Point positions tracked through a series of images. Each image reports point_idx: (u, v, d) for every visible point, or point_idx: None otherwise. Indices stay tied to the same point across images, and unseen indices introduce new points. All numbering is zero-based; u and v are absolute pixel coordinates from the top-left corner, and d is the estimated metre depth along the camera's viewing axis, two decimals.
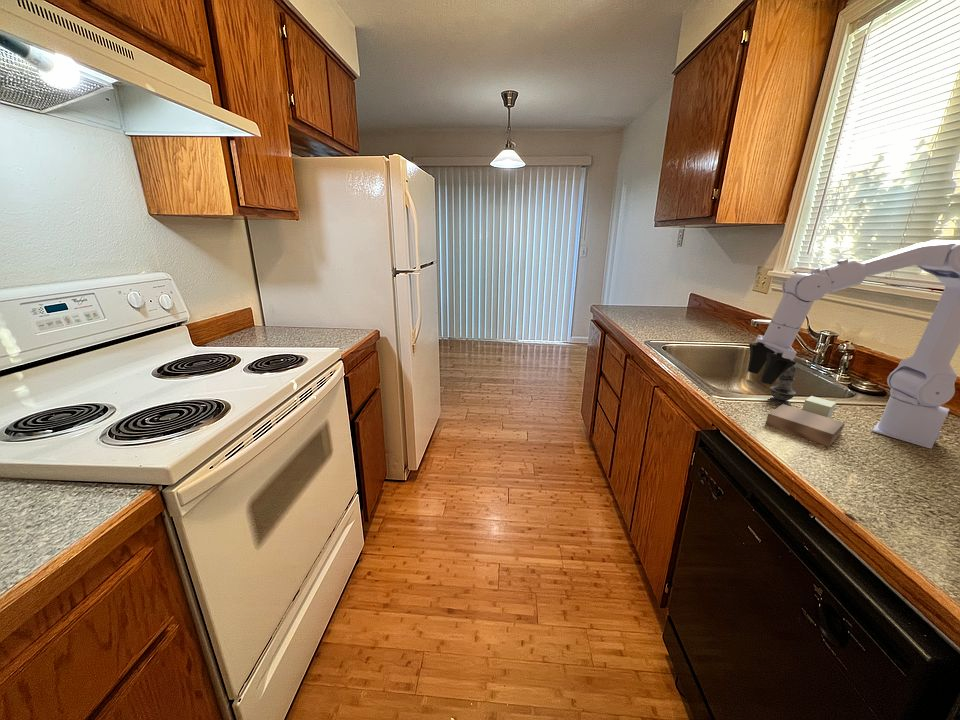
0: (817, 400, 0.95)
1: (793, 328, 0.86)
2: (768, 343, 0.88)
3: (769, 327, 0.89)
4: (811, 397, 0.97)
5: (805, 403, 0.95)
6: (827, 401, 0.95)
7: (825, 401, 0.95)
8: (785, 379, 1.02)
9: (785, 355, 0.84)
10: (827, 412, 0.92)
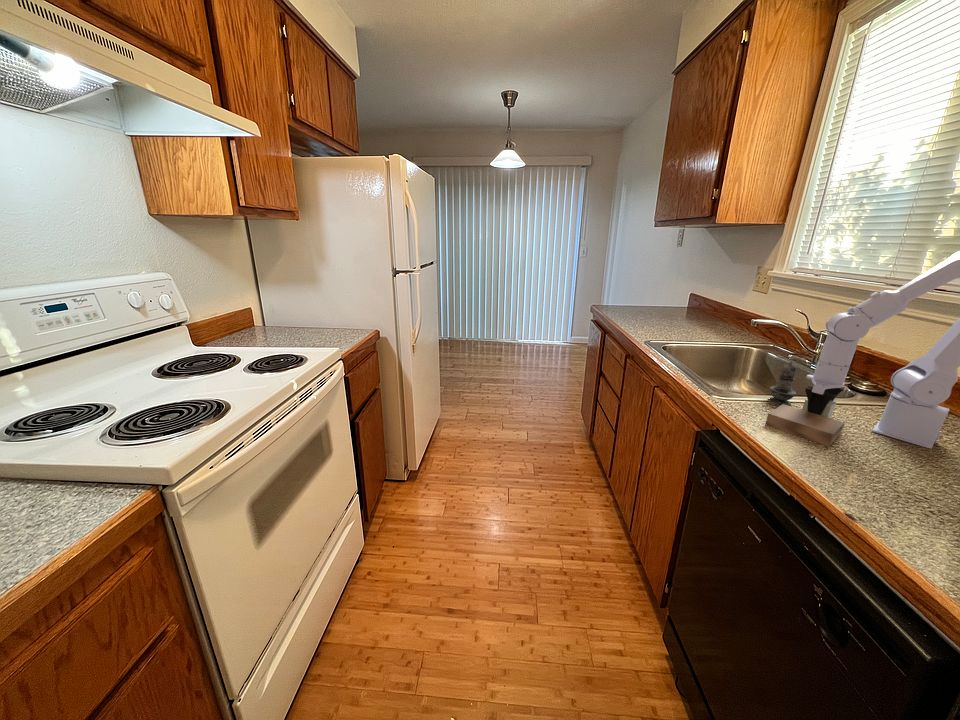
0: None
1: (833, 365, 0.90)
2: (812, 379, 0.94)
3: None
4: None
5: (805, 403, 0.95)
6: None
7: None
8: (785, 379, 1.02)
9: (813, 389, 0.90)
10: (827, 412, 0.92)
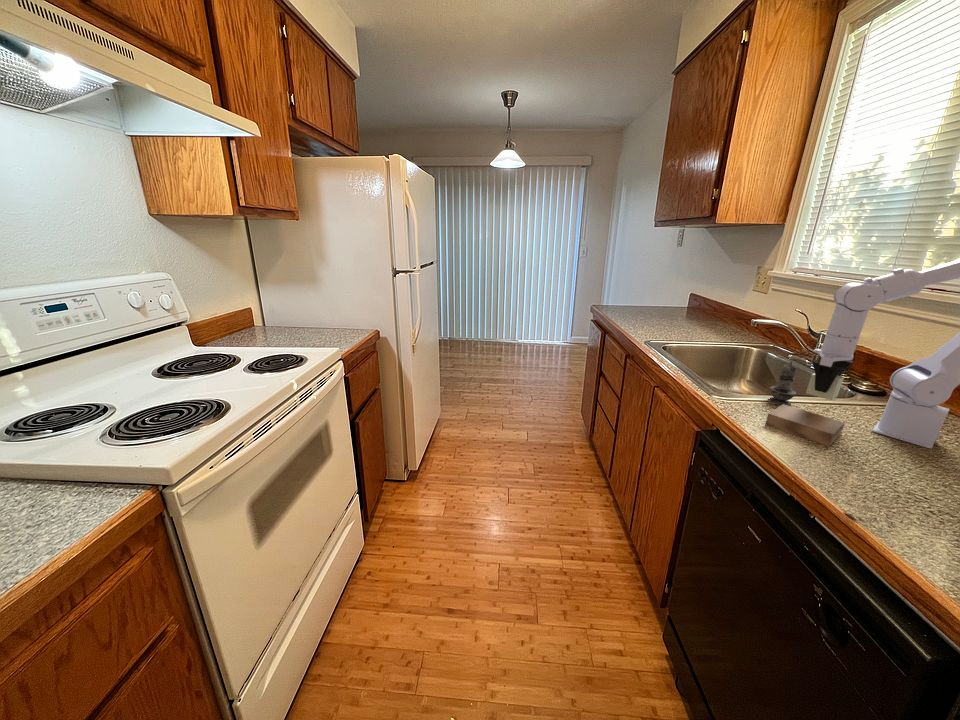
0: None
1: (841, 337, 0.87)
2: (819, 353, 0.91)
3: None
4: None
5: (812, 378, 0.93)
6: None
7: None
8: (785, 379, 1.02)
9: (821, 362, 0.87)
10: (835, 386, 0.89)
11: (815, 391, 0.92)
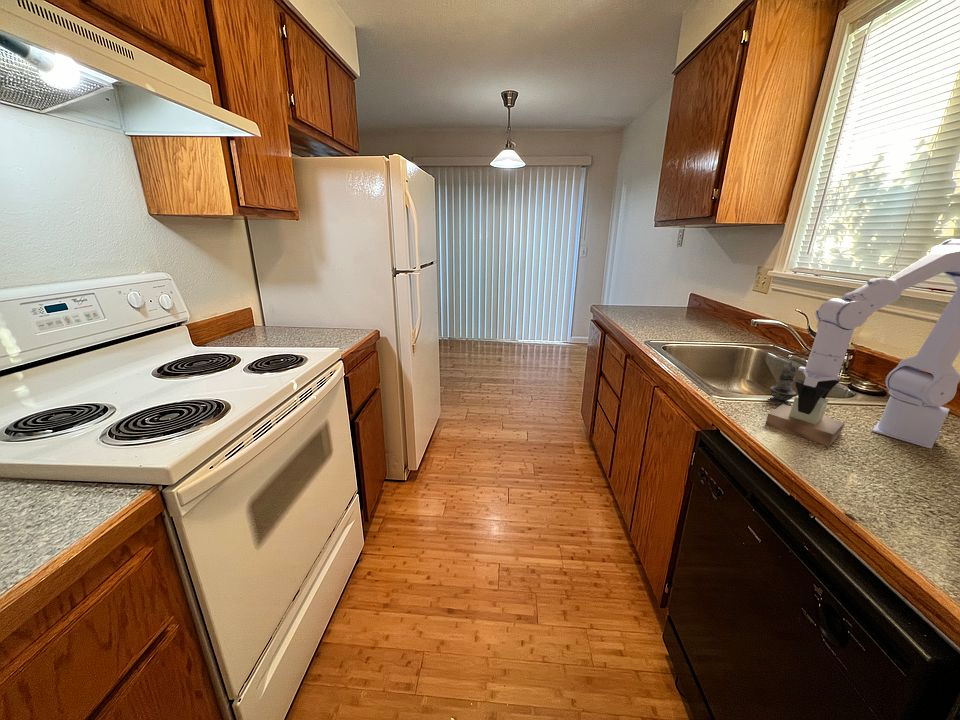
0: None
1: (826, 356, 0.83)
2: (804, 371, 0.87)
3: None
4: None
5: (795, 400, 0.89)
6: None
7: None
8: (785, 379, 1.02)
9: (805, 382, 0.83)
10: (818, 410, 0.85)
11: (798, 414, 0.88)
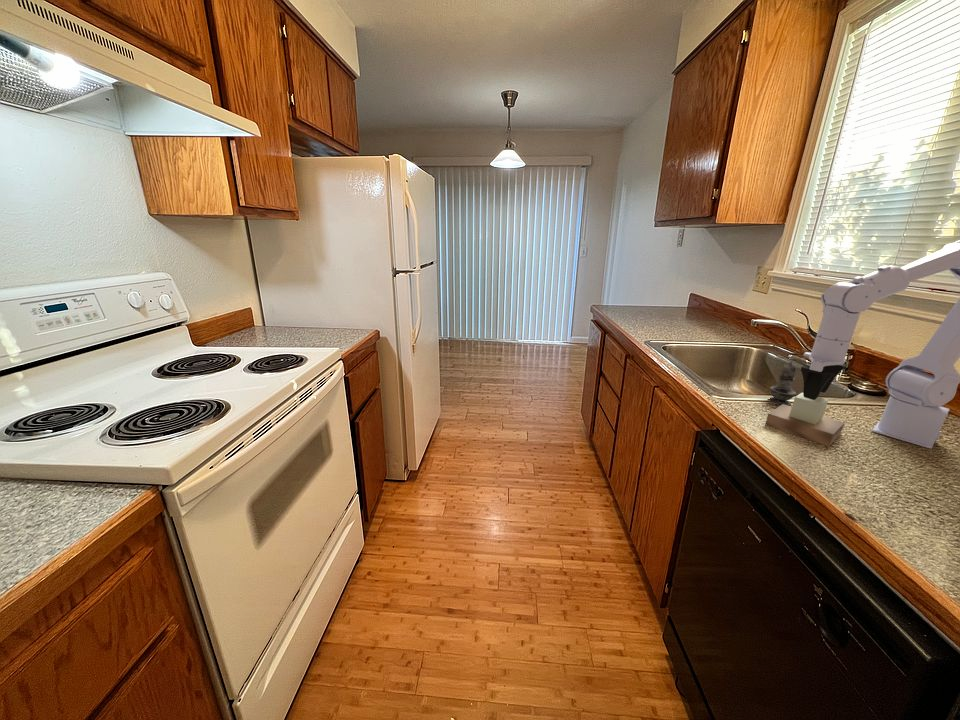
0: None
1: (832, 340, 0.82)
2: (809, 356, 0.86)
3: None
4: (801, 394, 0.90)
5: (795, 400, 0.89)
6: (819, 398, 0.88)
7: (816, 398, 0.88)
8: (785, 379, 1.02)
9: (810, 366, 0.82)
10: (818, 410, 0.85)
11: (798, 414, 0.88)
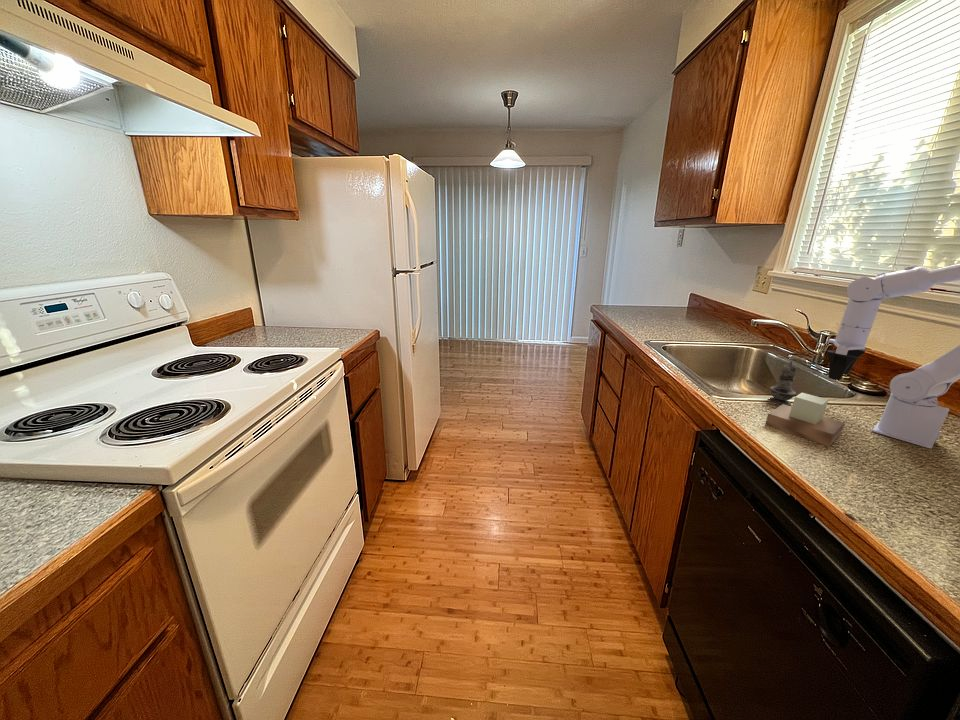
0: (808, 397, 0.88)
1: (855, 327, 0.93)
2: (834, 342, 0.97)
3: (839, 328, 0.98)
4: (801, 394, 0.90)
5: (795, 400, 0.89)
6: (819, 398, 0.88)
7: (816, 398, 0.88)
8: (785, 379, 1.02)
9: (836, 351, 0.93)
10: (818, 410, 0.85)
11: (798, 414, 0.88)
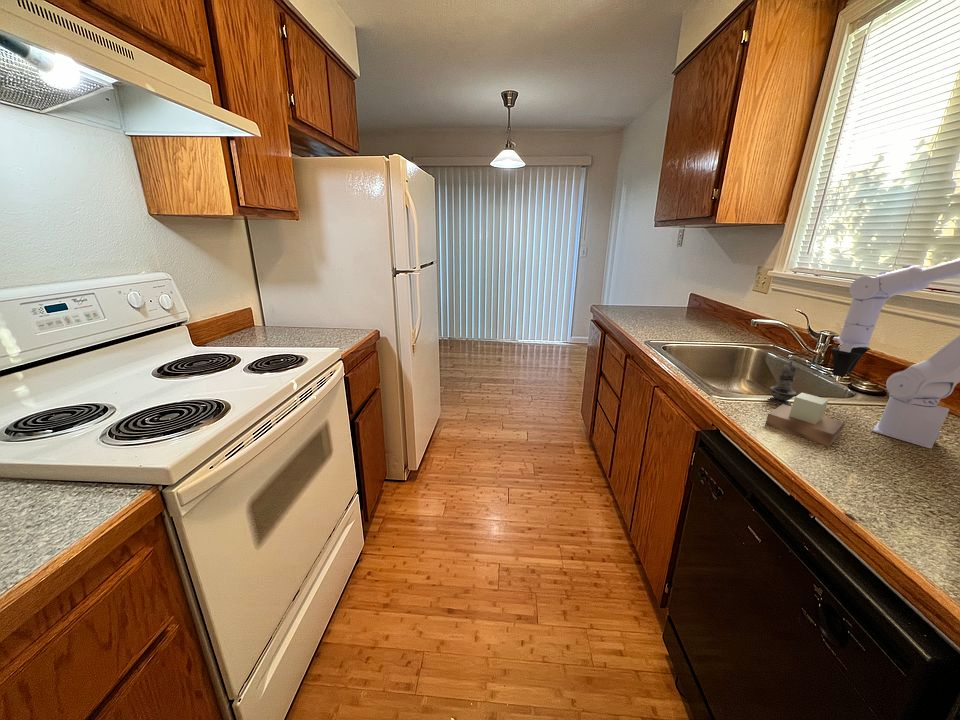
0: (808, 397, 0.88)
1: (859, 325, 0.96)
2: (838, 340, 1.00)
3: None
4: (801, 394, 0.90)
5: (795, 400, 0.89)
6: (819, 398, 0.88)
7: (816, 398, 0.88)
8: (785, 379, 1.02)
9: (840, 348, 0.96)
10: (818, 410, 0.85)
11: (798, 414, 0.88)
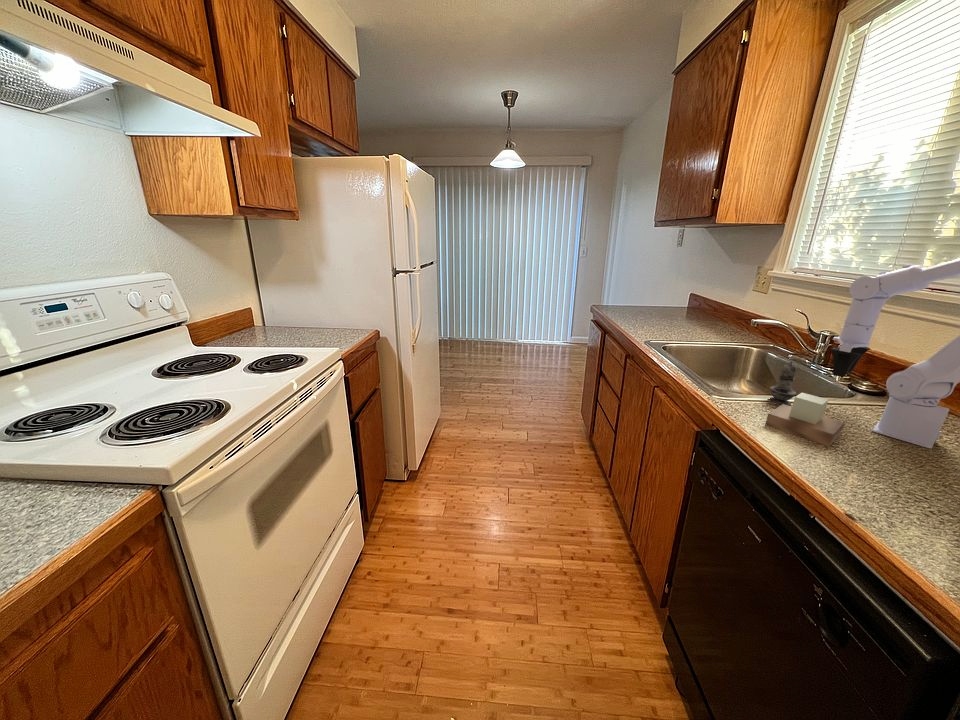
0: (808, 397, 0.88)
1: (859, 325, 0.96)
2: (838, 340, 1.00)
3: None
4: (801, 394, 0.90)
5: (795, 400, 0.89)
6: (819, 398, 0.88)
7: (816, 398, 0.88)
8: (785, 379, 1.02)
9: (840, 348, 0.96)
10: (818, 410, 0.85)
11: (798, 414, 0.88)
